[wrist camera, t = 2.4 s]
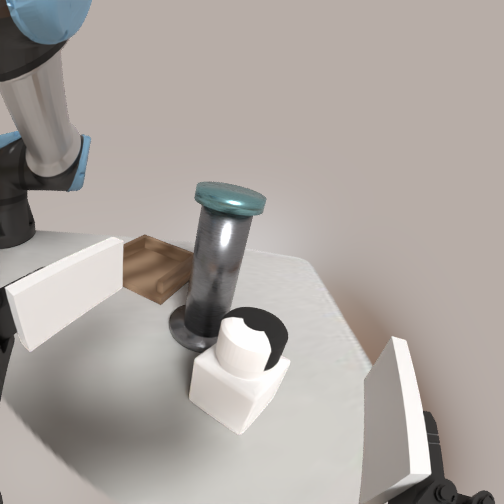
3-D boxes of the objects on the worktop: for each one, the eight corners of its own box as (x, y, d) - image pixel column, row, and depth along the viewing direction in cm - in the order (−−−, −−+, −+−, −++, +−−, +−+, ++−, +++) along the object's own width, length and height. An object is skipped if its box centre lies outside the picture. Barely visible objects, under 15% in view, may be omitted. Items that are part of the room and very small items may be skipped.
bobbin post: (156, 333, 35) (170, 185, 28) (189, 300, 44) (210, 177, 37) (223, 364, 33) (262, 211, 26) (246, 323, 42) (282, 197, 35)
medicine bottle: (225, 368, 33) (246, 290, 28) (273, 399, 30) (308, 323, 25) (187, 399, 27) (198, 318, 22) (239, 437, 24) (272, 364, 19)
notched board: (97, 272, 44) (97, 255, 42) (143, 248, 56) (144, 233, 55) (160, 304, 41) (162, 285, 40) (200, 271, 54) (202, 255, 53)
